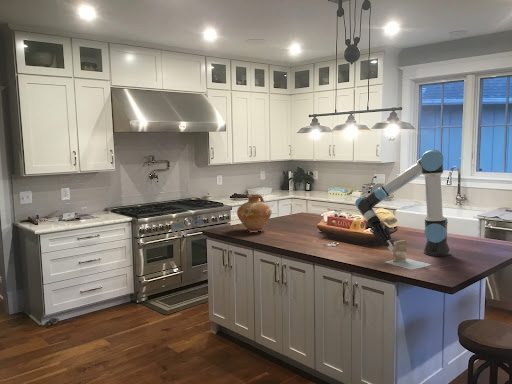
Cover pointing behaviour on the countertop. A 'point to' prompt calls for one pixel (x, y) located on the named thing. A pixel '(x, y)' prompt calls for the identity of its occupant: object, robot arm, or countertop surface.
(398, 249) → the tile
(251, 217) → the jug
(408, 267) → the mat
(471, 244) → the countertop surface
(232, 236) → the countertop surface
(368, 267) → the countertop surface
